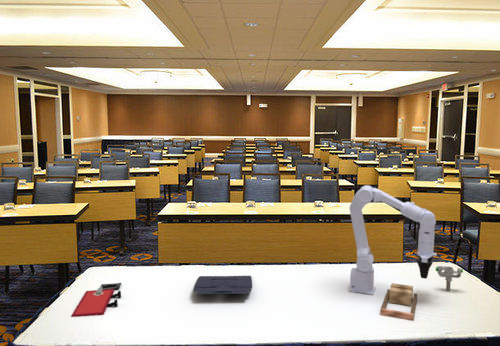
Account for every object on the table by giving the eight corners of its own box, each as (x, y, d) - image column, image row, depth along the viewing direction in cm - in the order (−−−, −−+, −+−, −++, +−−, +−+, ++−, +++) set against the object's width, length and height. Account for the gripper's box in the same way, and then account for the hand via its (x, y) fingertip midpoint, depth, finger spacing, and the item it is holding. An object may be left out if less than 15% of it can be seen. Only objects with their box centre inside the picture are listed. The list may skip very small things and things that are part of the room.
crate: (389, 302, 165) (389, 288, 164) (391, 294, 172) (391, 281, 171) (411, 305, 161) (411, 292, 161) (412, 298, 169) (413, 284, 168)
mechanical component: (462, 292, 174) (463, 269, 173) (435, 291, 176) (436, 267, 175) (460, 290, 177) (461, 267, 176) (434, 288, 179) (435, 265, 178)
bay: (380, 314, 155) (380, 309, 154) (387, 293, 174) (387, 289, 173) (413, 320, 150) (413, 315, 150) (417, 298, 169) (417, 293, 169)
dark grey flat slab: (190, 301, 164) (190, 291, 164) (198, 282, 194) (198, 274, 194) (253, 300, 165) (253, 291, 165) (251, 281, 195) (251, 273, 195)
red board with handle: (126, 284, 185) (90, 287, 183) (125, 278, 185) (90, 280, 183) (114, 315, 156) (71, 319, 154) (113, 308, 155) (71, 311, 153)
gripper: (436, 247, 158) (434, 282, 160) (437, 238, 172) (435, 270, 173) (416, 245, 161) (414, 279, 163) (419, 236, 174) (417, 268, 176)
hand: (424, 274), depth 168 cm, fingers open, 7 cm apart
